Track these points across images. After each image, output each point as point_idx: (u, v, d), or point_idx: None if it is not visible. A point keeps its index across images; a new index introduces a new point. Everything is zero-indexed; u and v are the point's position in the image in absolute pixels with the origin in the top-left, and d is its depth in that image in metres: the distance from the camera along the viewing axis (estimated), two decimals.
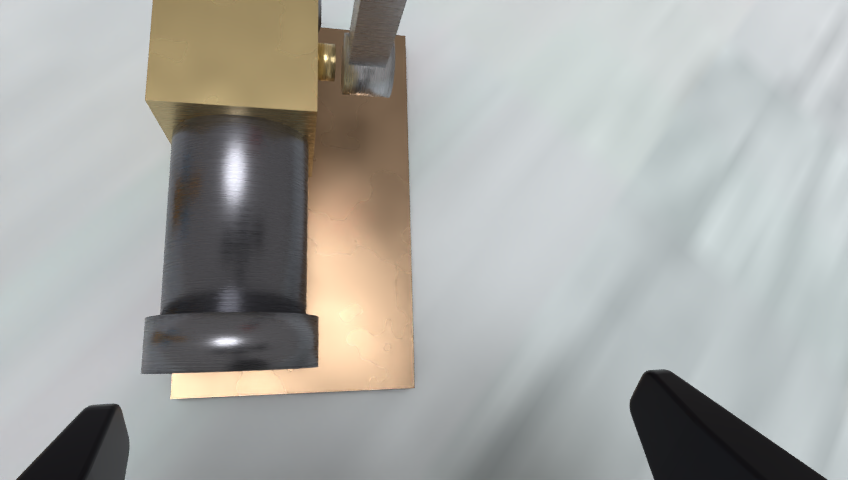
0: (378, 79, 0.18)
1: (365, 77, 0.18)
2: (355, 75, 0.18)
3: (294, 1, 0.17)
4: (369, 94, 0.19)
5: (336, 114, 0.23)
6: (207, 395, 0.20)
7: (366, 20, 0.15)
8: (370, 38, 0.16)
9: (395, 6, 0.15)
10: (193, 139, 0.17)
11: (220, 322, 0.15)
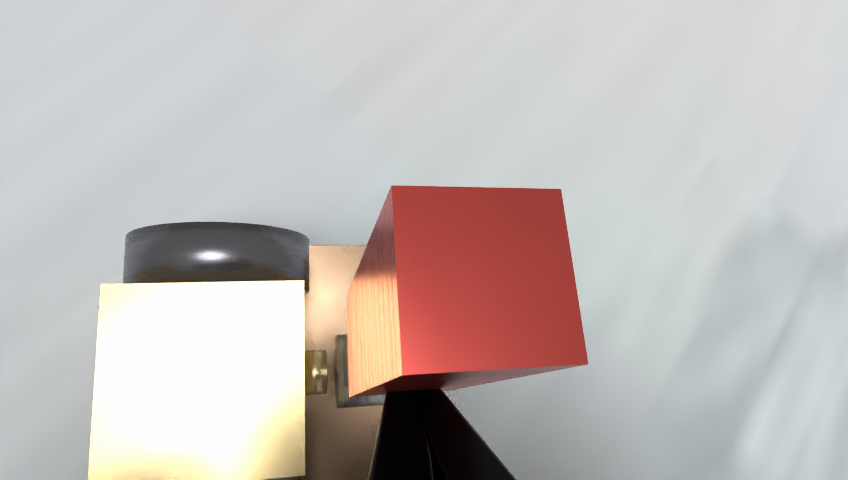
0: (379, 396, 0.15)
1: (364, 396, 0.15)
2: (351, 396, 0.15)
3: (274, 325, 0.14)
4: None
5: (329, 353, 0.20)
6: None
7: None
8: None
9: None
10: None
11: None
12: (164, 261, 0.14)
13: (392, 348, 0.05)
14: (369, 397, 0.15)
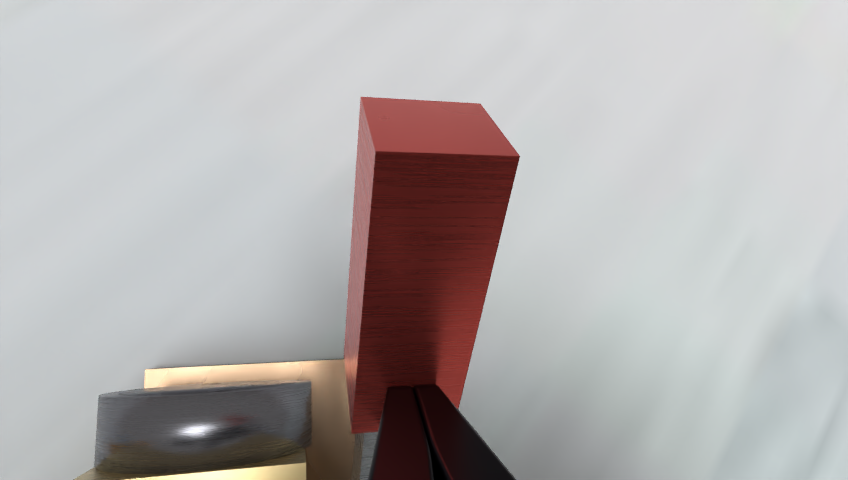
0: None
1: None
2: None
3: None
4: None
5: None
6: None
7: None
8: None
9: None
10: None
11: None
12: (141, 444, 0.12)
13: (370, 173, 0.07)
14: None
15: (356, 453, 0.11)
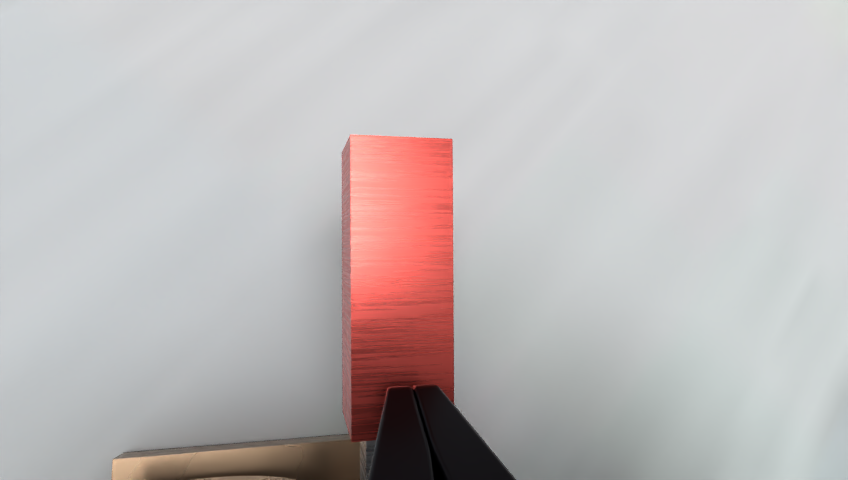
0: None
1: None
2: None
3: None
4: None
5: None
6: None
7: None
8: None
9: None
10: None
11: None
12: None
13: (349, 163, 0.10)
14: None
15: None
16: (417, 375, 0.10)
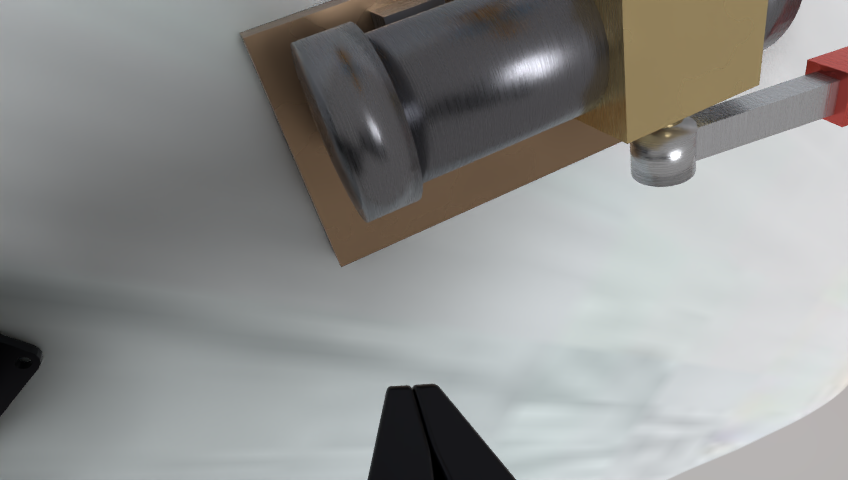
0: (693, 161, 0.18)
1: (693, 149, 0.17)
2: (695, 139, 0.17)
3: (731, 74, 0.16)
4: (676, 165, 0.17)
5: None
6: (261, 77, 0.17)
7: (768, 111, 0.18)
8: (742, 126, 0.18)
9: (788, 123, 0.18)
10: (574, 17, 0.14)
11: (403, 144, 0.13)
12: None
13: None
14: (695, 153, 0.17)
15: (765, 93, 0.18)
16: None
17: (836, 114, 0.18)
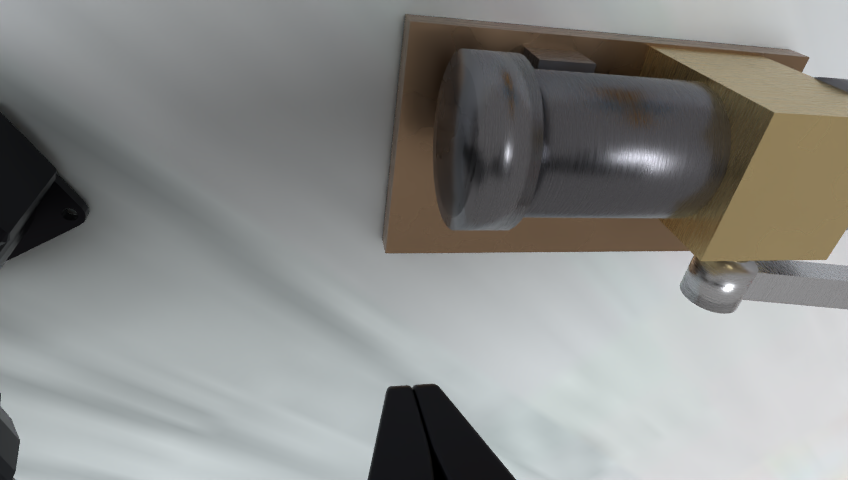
0: (740, 299, 0.19)
1: (746, 289, 0.19)
2: (751, 281, 0.19)
3: (809, 241, 0.17)
4: (726, 296, 0.19)
5: None
6: (407, 61, 0.18)
7: (820, 284, 0.19)
8: (793, 287, 0.19)
9: (831, 302, 0.19)
10: (710, 136, 0.16)
11: (527, 180, 0.14)
12: None
13: None
14: (745, 293, 0.19)
15: (822, 268, 0.19)
16: None
17: None
